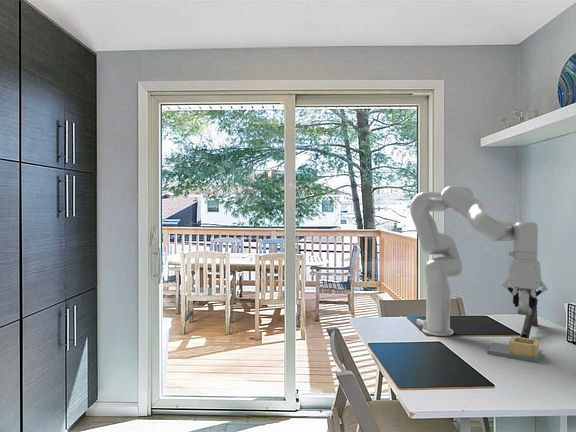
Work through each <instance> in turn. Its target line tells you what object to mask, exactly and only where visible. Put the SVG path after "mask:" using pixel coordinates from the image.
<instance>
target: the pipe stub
mask: <svg viewBox="0 0 576 432" xmlns="http://www.w3.org/2000/svg"><path fill="white" fill-rule="evenodd" d="M517 293H518V300H517V307H516V309H517V310H516V314H518V315H522V316H526V315H531V296H532V292H531V289H523V288H518V291H517Z"/></svg>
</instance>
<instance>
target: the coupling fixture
mask: <svg viewBox="0 0 576 432" xmlns="http://www.w3.org/2000/svg"><path fill="white" fill-rule="evenodd" d="M487 354H489V355H492V356H493V355H494V356H498V357H505V358H509V359H515V360H520V361H526V362H531V363H535V364H538V363H539V361H540V358H541V356H542V354H543V350H540V340H537V339H533V338H529V339H528V338H522V337H520V336H512V337H510V339H509V340H508V344H504V343H500V342H493V343H492V344H491V346H489V347H488V349H487Z"/></svg>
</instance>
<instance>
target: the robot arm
mask: <svg viewBox="0 0 576 432" xmlns="http://www.w3.org/2000/svg"><path fill="white" fill-rule="evenodd" d="M409 209H410V210H409V211H410V215H411V218H412V222H413V223H414V227H415V229H416V233H417V237H418V240H419V243H420V247H421V249H422V252H423V253H424V254H425V255H427V256H438V257H433V258H431V259H429V260H428V261H427V262H426V263H425V265H424V275H425V280H426V281H425V283H426V299H425V300H426V302H425V303H426V304H425V305H426V308H425V309H426V310H425V311H426V313H425V319H424V320H423V319H419V318H418V319H417V318H416V324H417V325H419V326H423V327H421V331H422V333H425V334H427V335H430V336H431V335H432V336H437V337H449V336H453V335H454V330H453V329H452V328H451V325H450V324H451V322H450V321H451V318H450V317H451V287H450V285H449V284H450V282H449V281H448V280H452V279H456V278H458V277H460V275H461V274H462V272H463V265H462V261H461V257H460V255H459V254H460V253H459V251H458V247H457V245H456V242H455V240H454V239H453V237H452V236H451V235H450V234H448V233H446V232H439V229H438V227H437V224H436V221H435V219H434V217H433V216H432V215H431V213H430V212H437V213H439V212H440V213H441V212H447V211H451V210H453V211H456V212H457V213H458V214H459V215H461V216H463V217H464V218H465V219H467V221H468V223H469V224H470V225H471V227H472V228H473V229H474V230H475V231H476V232H478V233H479V234H480V235H482V236H483V237H485V238H487V240H490V241H493V242H509V241H510V242H511V241H512V242H513V251H510V252H508V255H509V257H512V259H510V262H509V269H508V278H507V279H506V280H505V282H503V284H502V287H504V289H507V290H508V291H509V292H510V294H511V295H512V304H514V307H515V308H517V300H518V288H523V289H531V292H532V294H531V296H532V297H531V309H533V308H534V306H536V298H537V297H538V296H540V295H541V294H543V293H545V292H547V291H548V289H549V288H548V287H547V285H546V284H545V283H544V281H543V279H542V270H541V264H540V263H541V262H540V260H538V243H539V242H538V241H539V240H538V237H539V236H538V231H539V226H538V224H537V223H536V222H535V221H512V220H497V219H495V218H494V217H492V216H490V215H489V214H488V213H486V212H485V211H484V210H483V209H484V203H483V202H482V201H481V200H480V199H478V198H476V197H475V196H474V192H473V191H472V189H471V188H469V187H467V186H465V185H455V184H454V185H448V186H446V187H444V189H443V190H442V191H441V192H440V191H438V192H437V191H421V192H419V193H417V194H415V195H414V196H413V198H412V199H411V202H410V207H409Z"/></svg>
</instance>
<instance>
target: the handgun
mask: <svg viewBox="0 0 576 432" xmlns="http://www.w3.org/2000/svg"><path fill="white" fill-rule="evenodd" d="M531 297H532V295H531ZM538 302H539V300H538V298H537V297H536V306H534V308H533V309H531V315H525V316H524V317H525V318H524V322H523V325H522V329H521V333H520V335H519V337H522V338H528V339H530V334H531V329H532V327H537V328H538V326H539V321H538V306H537V305H538Z"/></svg>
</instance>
